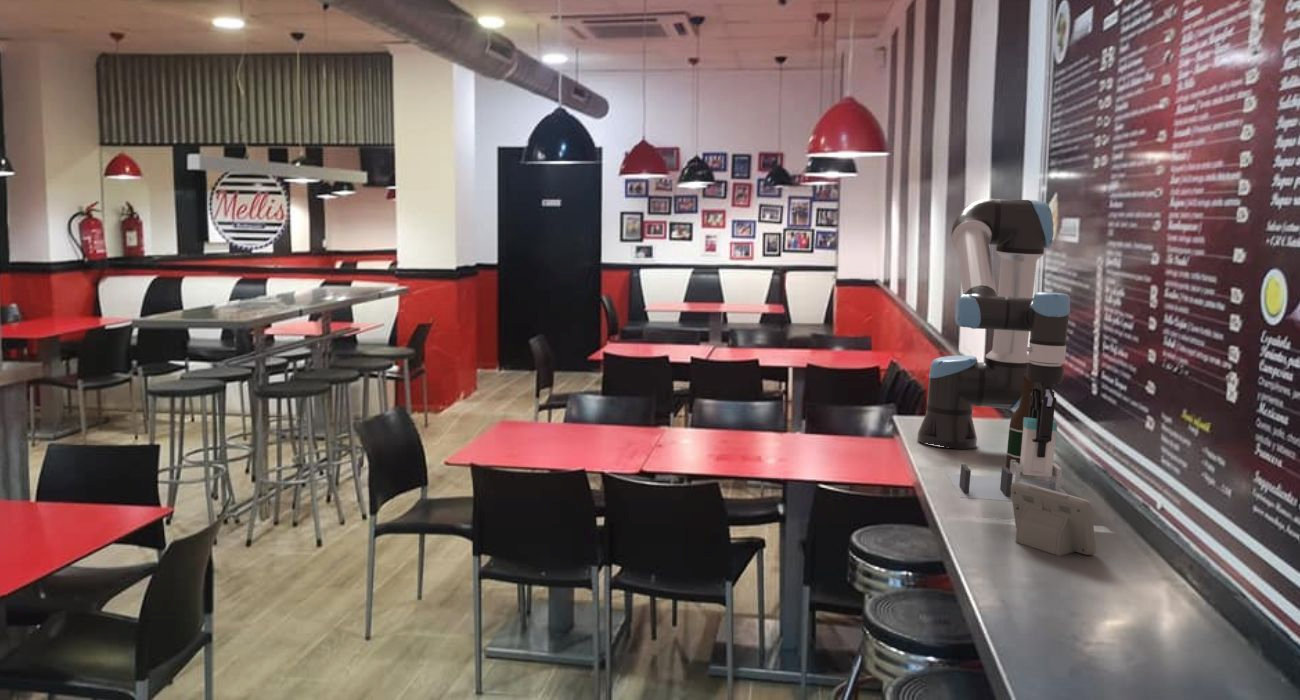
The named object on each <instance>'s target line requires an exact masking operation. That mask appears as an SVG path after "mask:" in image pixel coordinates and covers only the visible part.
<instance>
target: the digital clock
mask: <svg viewBox="0 0 1300 700" xmlns="http://www.w3.org/2000/svg"><path fill="white" fill-rule="evenodd" d="M1067 494H1068V493H1067ZM1067 494H1064V493H1060V492H1056V491H1052V490H1049V489H1045V488H1041V487H1038V486H1034V485H1030V484H1026V483H1021V482H1013V483H1012V485H1011V496H1012V501H1011V502H1012V507H1013V509H1012V510H1013V515H1014V522H1015V528H1016V531H1015V542H1016V543H1018V544H1020V545H1023V546H1027V547H1029V548H1032V549H1035V550H1039V551H1042V552H1046V553H1048V554H1050V555H1055V556H1058V557H1060V556H1064V555H1067V554H1072V553H1079V554H1082V555H1086V556H1092V555H1094V554H1096V553H1097V546H1096V538H1095V529H1094V528H1095V526H1094V522H1093V521H1094V519H1093V510H1092V505H1091V502H1090V501H1089V500H1087V499H1085V498H1082V497H1078V496H1074V495H1070V494H1068V495H1067Z"/></svg>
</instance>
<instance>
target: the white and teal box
mask: <svg viewBox="0 0 1300 700" xmlns="http://www.w3.org/2000/svg"><path fill="white" fill-rule="evenodd" d="M1036 426H1037V418H1027V417H1024V418H1023V435H1022V446H1021V457H1020V466H1021V473H1022V474H1021V475H1023V476H1024V475H1025V476H1035V477H1048V478H1049V477H1052V469H1053V463H1054V457H1055V446H1056V437H1057V431H1058V422H1057V421H1056V420H1054V419H1053V428H1052V437H1051V438H1052V440H1051V442H1048V447H1047V457H1046V468H1045V472H1037V471H1032V459H1033V449H1034V442H1033V441H1032V439H1036Z"/></svg>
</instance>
